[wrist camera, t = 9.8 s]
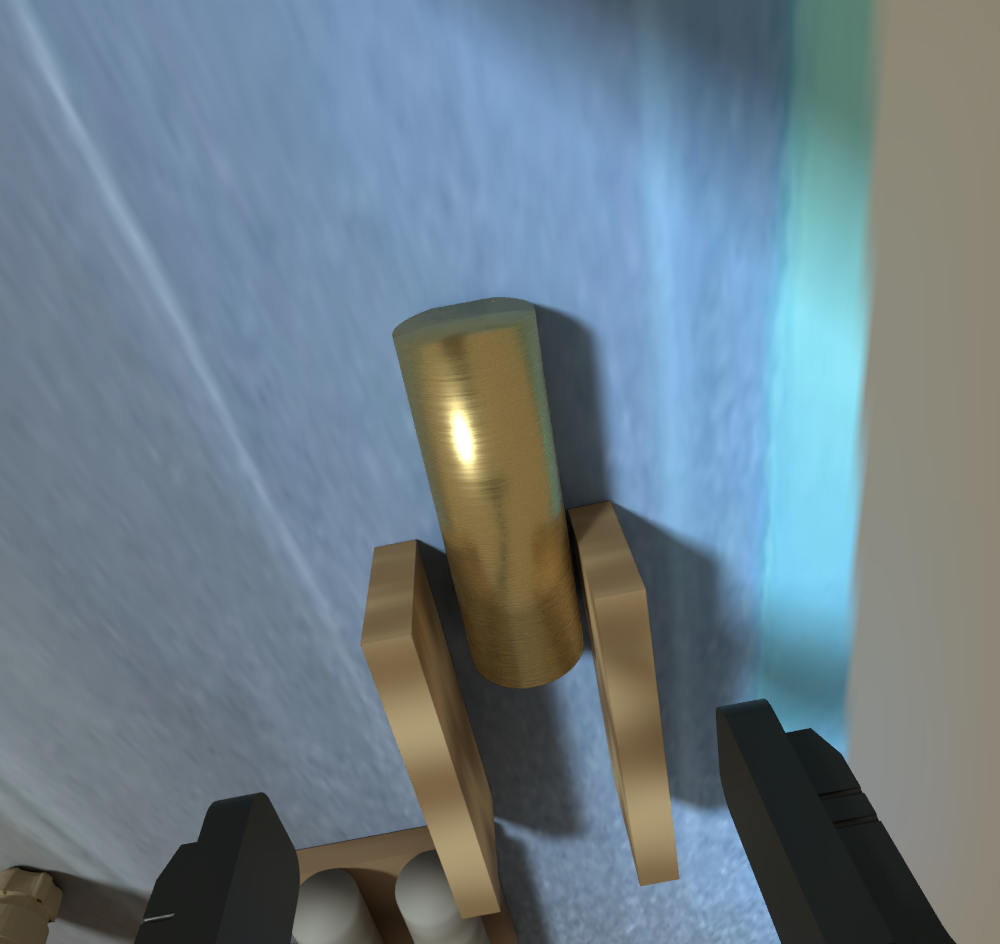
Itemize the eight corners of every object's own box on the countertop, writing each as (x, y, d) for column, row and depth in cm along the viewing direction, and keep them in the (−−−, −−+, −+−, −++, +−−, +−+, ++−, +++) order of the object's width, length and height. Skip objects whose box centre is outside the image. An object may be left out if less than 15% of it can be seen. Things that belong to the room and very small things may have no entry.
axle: (552, 595, 28) (605, 657, 25) (456, 635, 27) (498, 706, 24) (500, 288, 23) (560, 316, 19) (376, 324, 21) (417, 359, 18)
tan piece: (646, 769, 32) (679, 878, 28) (458, 804, 32) (461, 918, 28) (610, 500, 25) (645, 589, 21) (374, 547, 26) (360, 644, 21)
